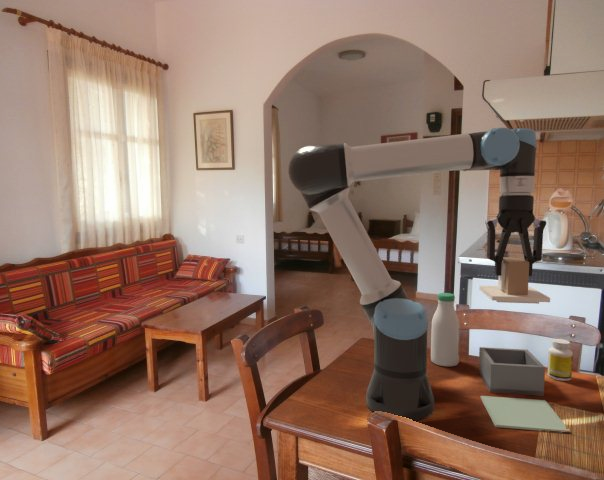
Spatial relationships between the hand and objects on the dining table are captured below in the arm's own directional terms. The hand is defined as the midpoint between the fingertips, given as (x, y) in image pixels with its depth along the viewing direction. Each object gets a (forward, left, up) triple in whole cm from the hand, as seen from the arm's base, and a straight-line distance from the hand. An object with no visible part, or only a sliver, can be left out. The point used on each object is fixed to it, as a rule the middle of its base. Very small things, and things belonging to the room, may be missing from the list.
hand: (512, 288), depth 104 cm
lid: (0, 0, -2) cm, 2 cm away
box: (0, 0, -25) cm, 25 cm away
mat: (-2, -16, -25) cm, 29 cm away
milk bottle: (-14, +12, -25) cm, 31 cm away
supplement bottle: (+14, +6, -25) cm, 29 cm away
